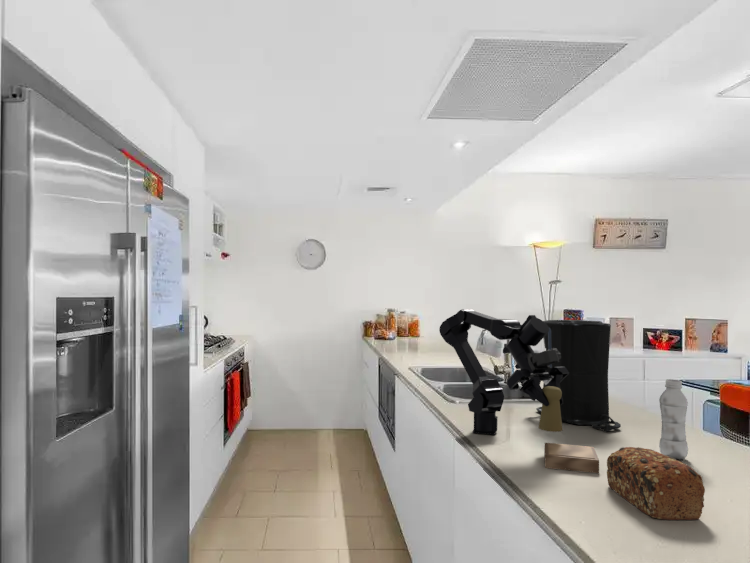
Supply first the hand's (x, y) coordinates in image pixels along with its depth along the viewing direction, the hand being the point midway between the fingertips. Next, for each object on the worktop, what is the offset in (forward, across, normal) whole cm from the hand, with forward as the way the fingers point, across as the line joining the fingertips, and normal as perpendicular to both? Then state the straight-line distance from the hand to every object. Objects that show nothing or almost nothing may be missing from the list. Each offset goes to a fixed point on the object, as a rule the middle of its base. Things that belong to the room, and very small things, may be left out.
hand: (555, 404), depth 142 cm
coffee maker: (-8, +38, +28) cm, 48 cm away
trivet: (+14, -2, +4) cm, 15 cm away
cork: (+4, 0, +6) cm, 7 cm away
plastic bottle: (+21, +26, -3) cm, 33 cm away
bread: (+32, -9, -14) cm, 36 cm away
